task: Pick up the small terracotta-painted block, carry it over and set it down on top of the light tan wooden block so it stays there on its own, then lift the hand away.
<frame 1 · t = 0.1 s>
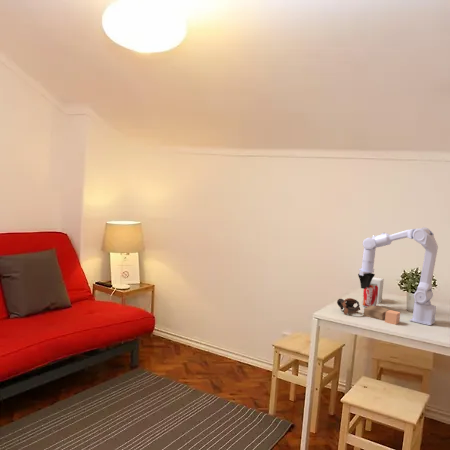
hand: (364, 287, 240), 11 cm above the table, tool pointing down, fingers open, 4 cm apart
supplement box: (373, 301, 258), on the table
terracotta block: (392, 322, 220), on the table
soda can: (368, 307, 245), on the table, touching gripper
light tan wooden block: (376, 317, 228), on the table
pottery mug: (347, 313, 231), on the table
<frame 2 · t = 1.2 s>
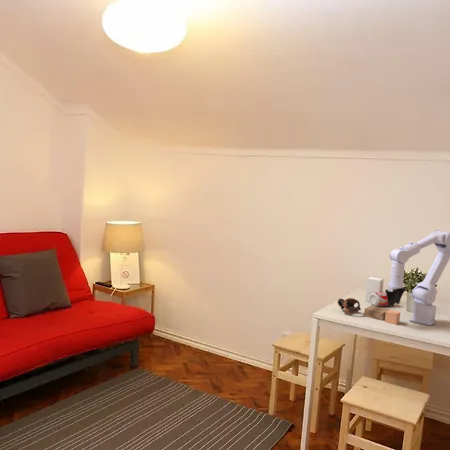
hand: (393, 304, 219), 8 cm above the table, tool pointing down, fingers open, 7 cm apart
soda can: (372, 299, 247), point 3 cm above the table
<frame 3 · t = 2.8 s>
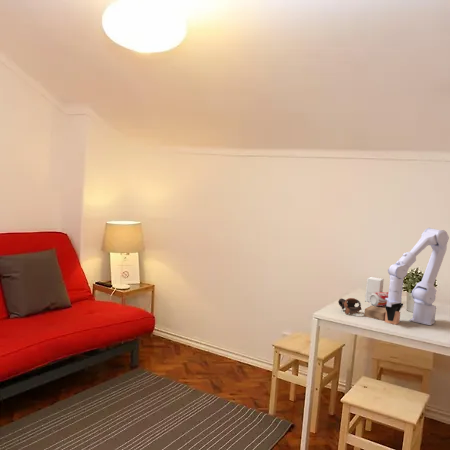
hand: (392, 319, 220), 1 cm above the table, tool pointing down, fingers closed on terracotta block, 5 cm apart
terracotta block: (392, 322, 220), on the table, touching gripper
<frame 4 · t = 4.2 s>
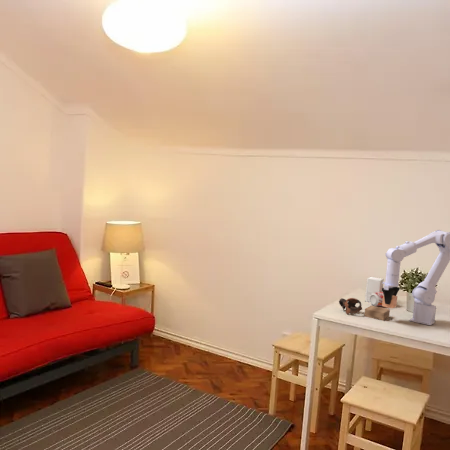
hand: (389, 303, 221), 8 cm above the table, tool pointing down, fingers closed on terracotta block, 5 cm apart
terracotta block: (389, 306, 221), point 7 cm above the table, touching gripper
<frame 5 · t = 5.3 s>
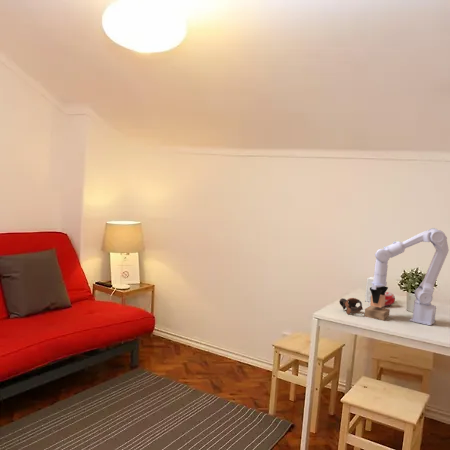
hand: (377, 302, 228), 7 cm above the table, tool pointing down, fingers closed on terracotta block, 5 cm apart
terracotta block: (377, 305, 228), point 5 cm above the table, touching gripper
when the fingers open (7 cm above the table, at t = 5.9 s): terracotta block drops 2 cm, resting on light tan wooden block.
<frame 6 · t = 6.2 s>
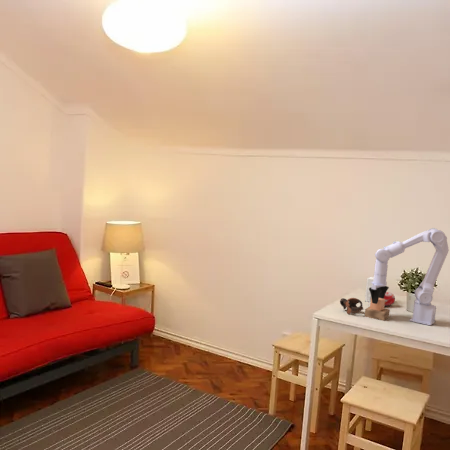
hand: (377, 302, 228), 7 cm above the table, tool pointing down, fingers open, 7 cm apart
terracotta block: (376, 308, 228), point 4 cm above the table, touching light tan wooden block
light tan wooden block: (376, 317, 228), on the table, touching terracotta block
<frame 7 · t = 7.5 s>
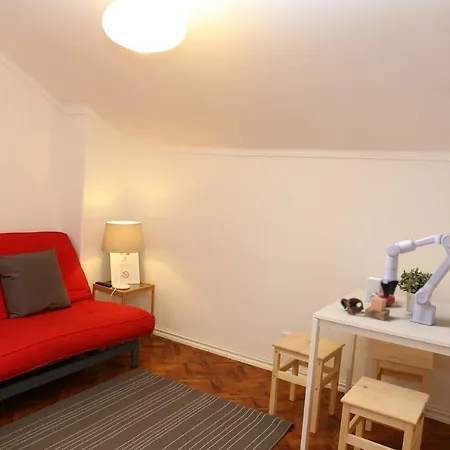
hand: (388, 296, 231), 9 cm above the table, tool pointing down, fingers open, 7 cm apart
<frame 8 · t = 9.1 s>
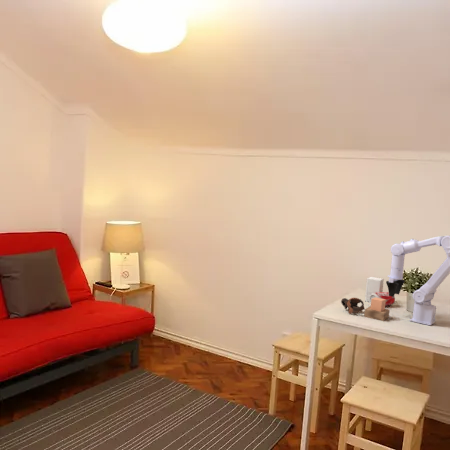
hand: (394, 295, 234), 9 cm above the table, tool pointing down, fingers open, 7 cm apart
terracotta block: (377, 309, 227), point 4 cm above the table
light tan wooden block: (376, 317, 227), on the table
at the end: terracotta block 0.4 cm off-centre on the light tan wooden block, point 4.0 cm above the light tan wooden block's base; terracotta block tilted 0°; the gripper is holding nothing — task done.
